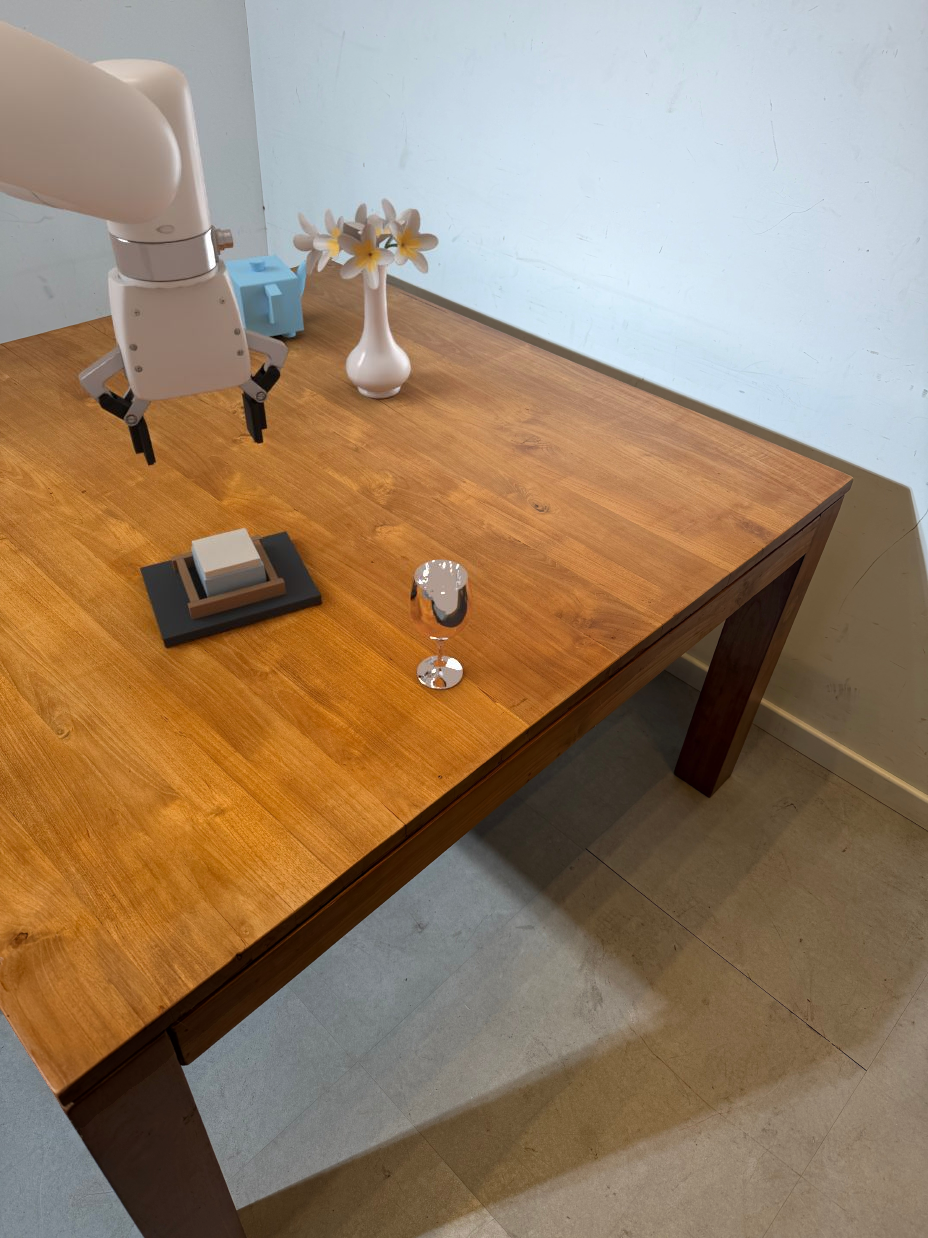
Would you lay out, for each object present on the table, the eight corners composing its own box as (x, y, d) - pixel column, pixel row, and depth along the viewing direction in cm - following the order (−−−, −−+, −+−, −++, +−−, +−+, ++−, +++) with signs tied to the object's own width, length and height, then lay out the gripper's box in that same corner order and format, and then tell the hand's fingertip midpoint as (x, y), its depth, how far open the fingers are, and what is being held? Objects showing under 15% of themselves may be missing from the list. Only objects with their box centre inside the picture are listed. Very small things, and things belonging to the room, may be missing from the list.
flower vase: (319, 366, 126) (302, 186, 109) (441, 372, 125) (443, 193, 108) (302, 408, 116) (280, 218, 99) (433, 415, 116) (434, 226, 99)
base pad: (165, 648, 81) (159, 627, 79) (142, 576, 89) (136, 555, 87) (322, 603, 87) (319, 583, 85) (287, 539, 94) (284, 519, 93)
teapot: (201, 321, 136) (188, 249, 128) (306, 303, 143) (299, 234, 135) (230, 361, 126) (217, 286, 118) (341, 340, 132) (336, 267, 125)
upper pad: (210, 604, 84) (202, 574, 81) (196, 570, 88) (188, 540, 85) (268, 588, 86) (262, 558, 84) (252, 555, 90) (246, 525, 87)
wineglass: (417, 699, 77) (416, 603, 69) (403, 656, 81) (401, 560, 73) (476, 688, 78) (482, 592, 70) (460, 646, 83) (464, 551, 74)
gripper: (261, 226, 70) (283, 411, 81) (40, 249, 64) (97, 446, 75) (288, 255, 65) (307, 447, 77) (52, 283, 59) (111, 488, 70)
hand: (203, 446), depth 76 cm, fingers open, 9 cm apart
